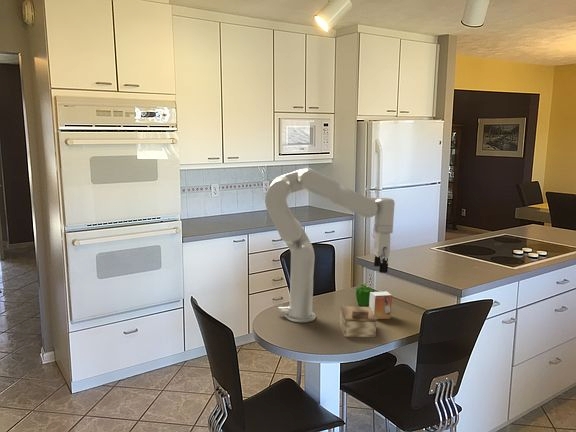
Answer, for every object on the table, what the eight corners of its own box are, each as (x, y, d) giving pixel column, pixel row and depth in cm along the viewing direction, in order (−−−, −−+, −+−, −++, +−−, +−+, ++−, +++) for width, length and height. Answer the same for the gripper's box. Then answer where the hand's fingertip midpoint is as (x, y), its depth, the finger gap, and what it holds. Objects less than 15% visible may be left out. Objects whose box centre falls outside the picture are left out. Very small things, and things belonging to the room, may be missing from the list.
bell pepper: (377, 307, 218) (378, 285, 217) (361, 309, 215) (362, 287, 214) (367, 301, 226) (369, 280, 224) (352, 303, 223) (353, 282, 221)
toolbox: (344, 336, 184) (344, 321, 183) (339, 322, 198) (340, 308, 197) (375, 337, 184) (376, 322, 183) (369, 323, 198) (369, 309, 197)
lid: (344, 320, 183) (345, 312, 182) (340, 308, 197) (341, 300, 196) (376, 321, 183) (376, 313, 183) (369, 308, 197) (370, 301, 196)
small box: (373, 320, 202) (375, 295, 201) (368, 315, 208) (369, 291, 206) (391, 318, 204) (392, 294, 203) (385, 314, 210) (386, 290, 208)
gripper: (369, 224, 205) (367, 263, 208) (379, 232, 188) (376, 274, 190) (387, 225, 205) (384, 264, 208) (398, 232, 188) (394, 275, 191)
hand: (380, 269), depth 199 cm, fingers open, 9 cm apart
